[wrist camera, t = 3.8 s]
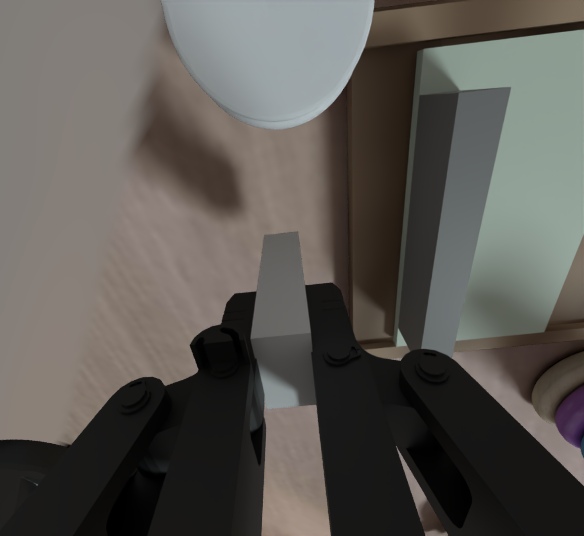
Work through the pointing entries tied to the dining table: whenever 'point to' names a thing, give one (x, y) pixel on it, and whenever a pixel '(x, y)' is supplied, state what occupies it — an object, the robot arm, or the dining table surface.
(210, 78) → the pill bottle
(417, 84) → the lid
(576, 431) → the stacking toy
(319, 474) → the dining table surface
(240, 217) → the dining table surface
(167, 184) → the dining table surface
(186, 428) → the robot arm
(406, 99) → the wooden frame
